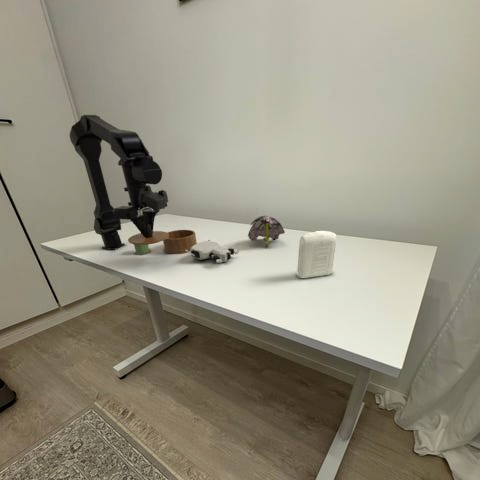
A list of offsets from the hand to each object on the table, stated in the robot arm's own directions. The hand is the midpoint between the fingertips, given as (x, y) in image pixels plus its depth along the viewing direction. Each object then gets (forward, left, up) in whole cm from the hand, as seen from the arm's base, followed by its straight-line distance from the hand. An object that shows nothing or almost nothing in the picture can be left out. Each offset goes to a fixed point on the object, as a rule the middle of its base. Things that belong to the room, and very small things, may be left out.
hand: (148, 235), depth 91 cm
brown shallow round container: (+1, +15, -9) cm, 18 cm away
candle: (-11, +7, -9) cm, 16 cm away
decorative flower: (+31, +28, -9) cm, 43 cm away
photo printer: (+54, +5, -9) cm, 55 cm away
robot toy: (+19, +8, -9) cm, 23 cm away
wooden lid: (0, 0, -1) cm, 1 cm away
